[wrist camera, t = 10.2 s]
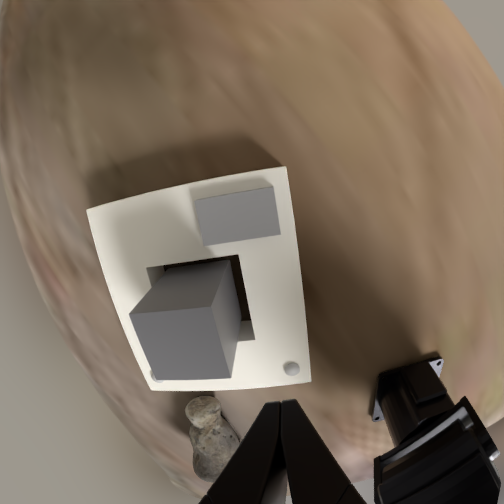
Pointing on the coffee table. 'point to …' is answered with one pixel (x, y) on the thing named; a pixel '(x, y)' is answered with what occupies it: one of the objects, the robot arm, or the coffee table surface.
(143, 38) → the coffee table surface
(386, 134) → the coffee table surface
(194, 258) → the socket plate
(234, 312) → the plug
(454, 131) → the coffee table surface
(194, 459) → the stone
